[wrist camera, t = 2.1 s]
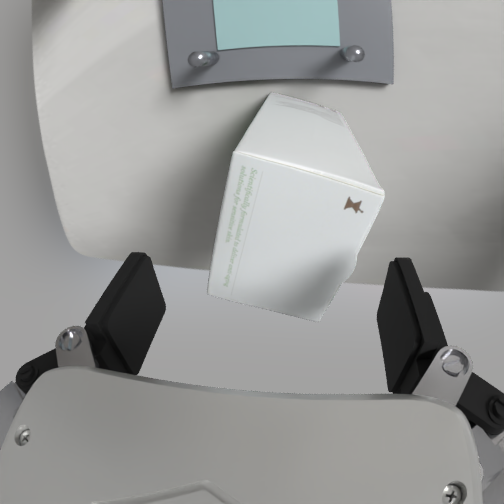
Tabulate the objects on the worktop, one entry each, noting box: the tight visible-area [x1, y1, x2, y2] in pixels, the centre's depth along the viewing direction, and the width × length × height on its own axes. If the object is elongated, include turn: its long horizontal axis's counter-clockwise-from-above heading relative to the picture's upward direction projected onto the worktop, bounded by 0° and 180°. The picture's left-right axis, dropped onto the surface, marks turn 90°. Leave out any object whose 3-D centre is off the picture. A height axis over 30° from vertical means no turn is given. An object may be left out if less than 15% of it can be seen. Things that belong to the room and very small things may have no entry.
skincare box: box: [207, 92, 385, 322], centre depth 20 cm, size 8×7×16 cm
